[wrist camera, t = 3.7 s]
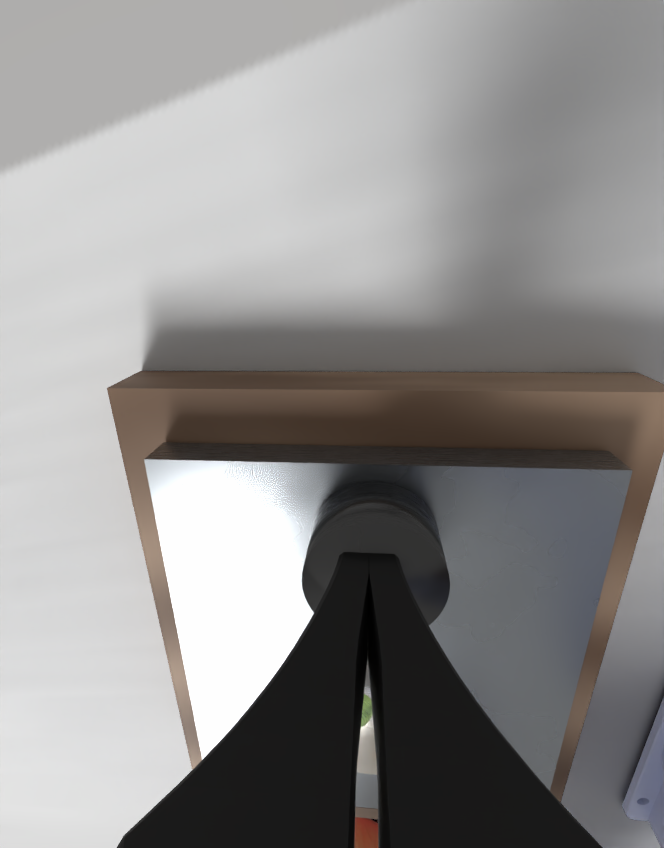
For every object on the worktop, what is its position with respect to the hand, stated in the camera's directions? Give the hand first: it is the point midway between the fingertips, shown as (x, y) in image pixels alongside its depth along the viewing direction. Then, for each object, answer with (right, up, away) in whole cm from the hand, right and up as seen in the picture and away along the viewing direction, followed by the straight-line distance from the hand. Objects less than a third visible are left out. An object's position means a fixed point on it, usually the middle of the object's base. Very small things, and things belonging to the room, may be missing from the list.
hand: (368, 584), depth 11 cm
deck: (0, -4, +5) cm, 6 cm away
